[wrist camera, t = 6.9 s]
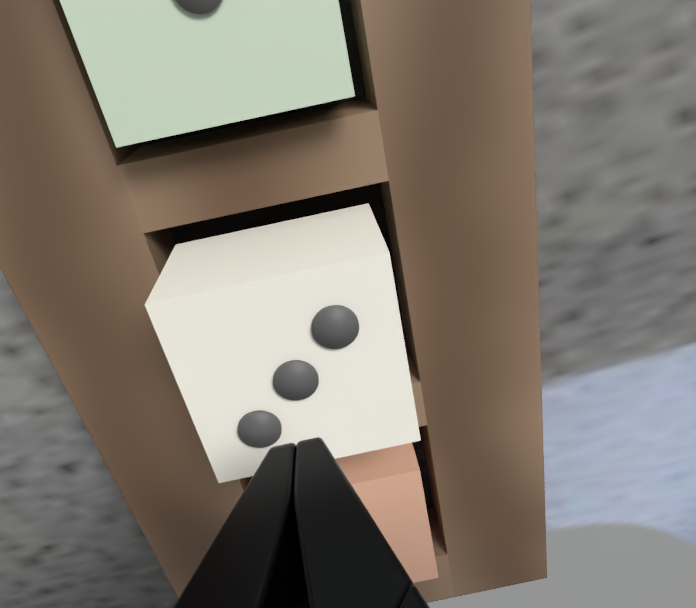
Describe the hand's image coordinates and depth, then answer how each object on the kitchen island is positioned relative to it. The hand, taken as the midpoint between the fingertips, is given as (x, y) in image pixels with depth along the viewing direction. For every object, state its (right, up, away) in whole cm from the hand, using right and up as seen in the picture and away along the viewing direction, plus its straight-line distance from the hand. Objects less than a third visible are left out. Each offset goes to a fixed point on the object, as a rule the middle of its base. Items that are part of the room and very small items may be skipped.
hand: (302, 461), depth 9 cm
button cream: (-1, +2, +5) cm, 5 cm away
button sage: (-2, +9, +3) cm, 10 cm away
